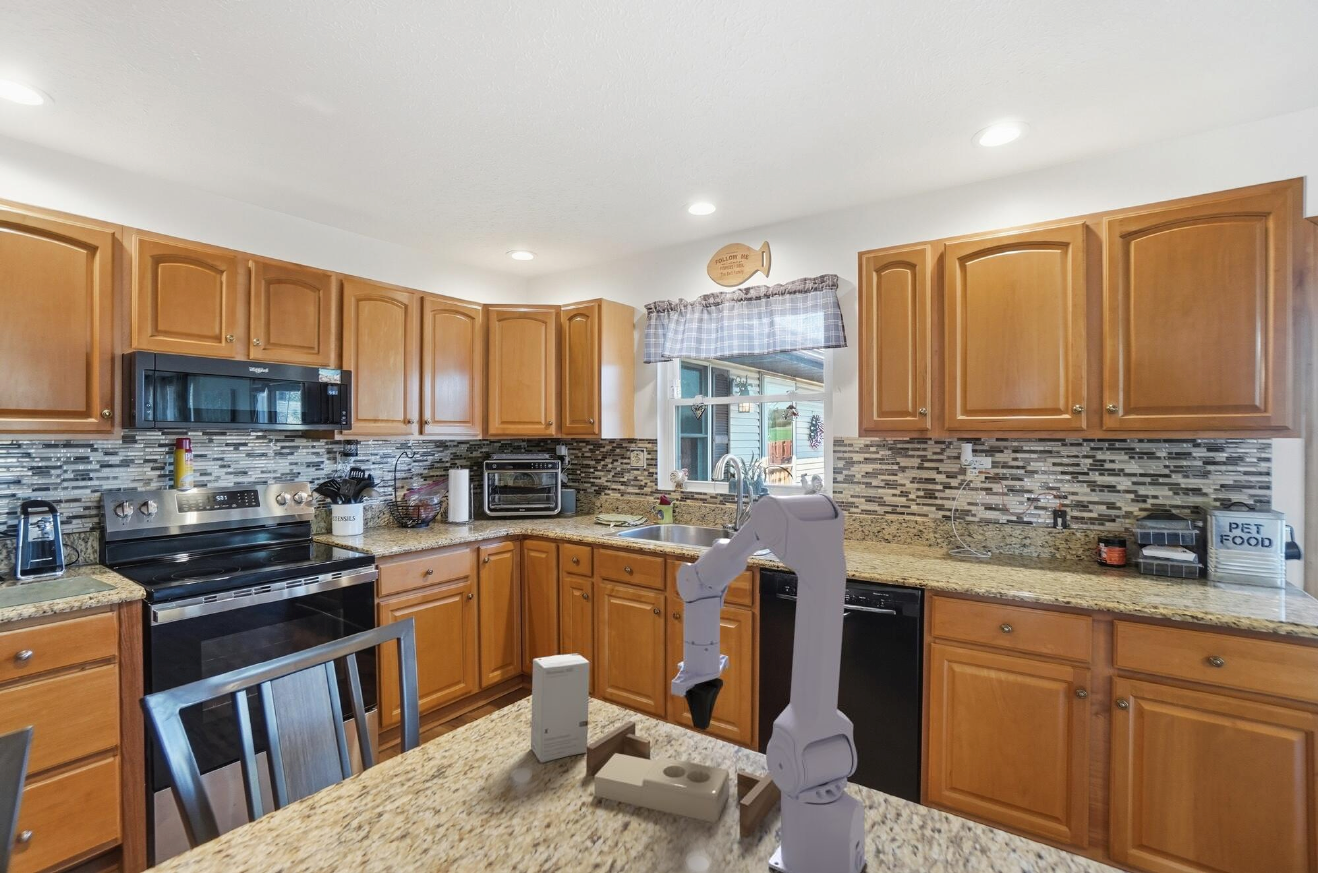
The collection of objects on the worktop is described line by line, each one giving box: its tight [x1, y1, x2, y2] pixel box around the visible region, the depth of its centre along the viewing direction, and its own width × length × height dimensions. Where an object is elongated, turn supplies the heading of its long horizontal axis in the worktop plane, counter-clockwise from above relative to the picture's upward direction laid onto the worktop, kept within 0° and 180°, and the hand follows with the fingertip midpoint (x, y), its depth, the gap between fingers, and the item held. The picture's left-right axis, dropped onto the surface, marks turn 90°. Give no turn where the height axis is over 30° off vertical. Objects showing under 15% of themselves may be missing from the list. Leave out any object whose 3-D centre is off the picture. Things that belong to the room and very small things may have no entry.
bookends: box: [585, 720, 781, 838], centre depth 91 cm, size 27×11×4 cm, turn 56°
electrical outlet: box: [593, 753, 730, 824], centre depth 88 cm, size 7×4×18 cm
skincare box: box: [530, 653, 590, 764], centre depth 101 cm, size 8×6×15 cm
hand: (701, 727), depth 96 cm, fingers closed
